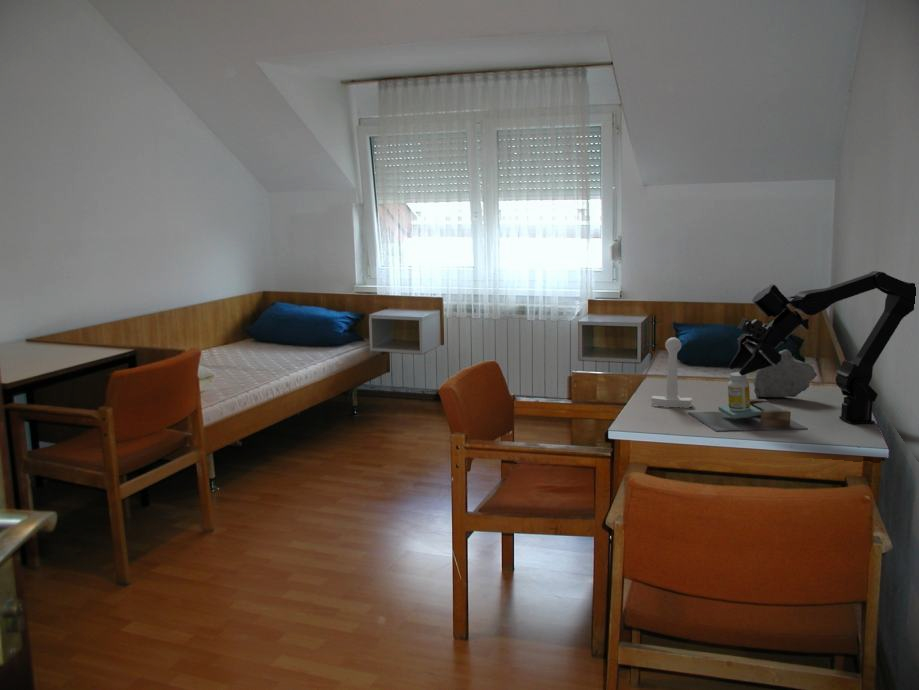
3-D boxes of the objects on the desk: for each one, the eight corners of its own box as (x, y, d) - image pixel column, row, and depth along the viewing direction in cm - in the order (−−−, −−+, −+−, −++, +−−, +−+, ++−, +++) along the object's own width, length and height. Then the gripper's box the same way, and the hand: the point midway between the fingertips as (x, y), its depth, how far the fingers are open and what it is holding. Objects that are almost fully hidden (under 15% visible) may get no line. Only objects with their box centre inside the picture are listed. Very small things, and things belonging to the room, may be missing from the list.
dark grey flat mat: (772, 411, 224) (773, 397, 224) (807, 429, 205) (808, 413, 204) (688, 413, 223) (688, 398, 222) (715, 431, 203) (716, 415, 203)
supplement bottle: (734, 413, 210) (732, 377, 208) (725, 408, 215) (723, 373, 213) (754, 410, 210) (752, 374, 208) (744, 405, 215) (742, 370, 214)
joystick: (650, 406, 232) (652, 337, 229) (653, 400, 239) (655, 334, 236) (690, 408, 228) (693, 339, 225) (692, 403, 235) (694, 335, 232)
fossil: (814, 398, 241) (817, 348, 239) (815, 402, 235) (818, 352, 233) (753, 394, 247) (755, 346, 245) (752, 398, 241) (755, 349, 239)
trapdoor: (767, 408, 219) (766, 399, 219) (784, 417, 209) (784, 408, 209) (718, 415, 219) (718, 406, 218) (734, 424, 208) (733, 415, 208)
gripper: (746, 304, 218) (704, 344, 220) (771, 311, 200) (724, 355, 202) (774, 332, 219) (732, 372, 221) (801, 342, 201) (754, 386, 203)
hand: (735, 371), depth 212 cm, fingers open, 9 cm apart
